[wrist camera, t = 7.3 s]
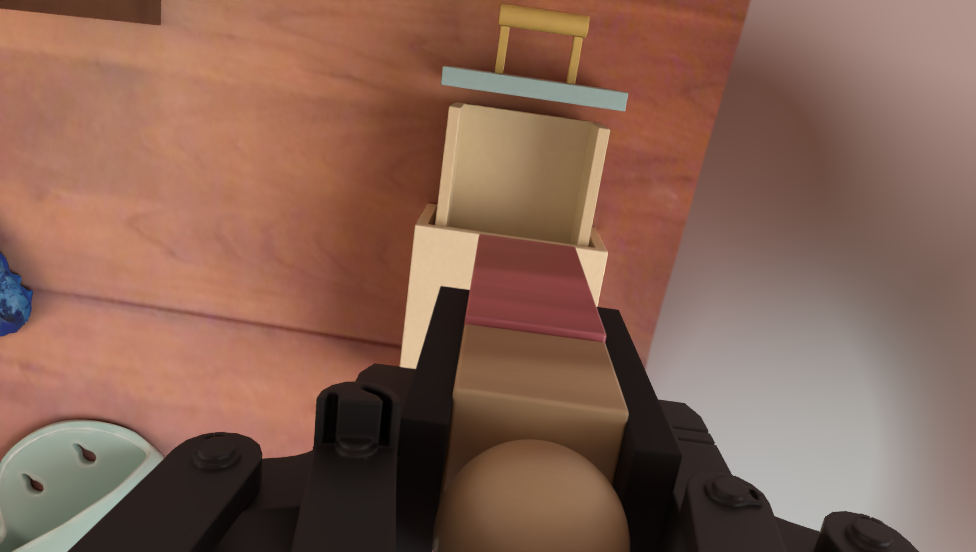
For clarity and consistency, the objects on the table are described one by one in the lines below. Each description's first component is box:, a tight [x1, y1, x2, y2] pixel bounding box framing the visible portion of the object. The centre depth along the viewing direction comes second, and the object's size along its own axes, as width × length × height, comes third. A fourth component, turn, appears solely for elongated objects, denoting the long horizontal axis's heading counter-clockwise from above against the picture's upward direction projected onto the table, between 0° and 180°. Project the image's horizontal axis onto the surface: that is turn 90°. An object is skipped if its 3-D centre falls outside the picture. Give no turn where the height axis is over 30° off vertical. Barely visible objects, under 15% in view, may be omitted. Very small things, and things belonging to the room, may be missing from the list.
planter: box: [0, 419, 164, 552], centre depth 60 cm, size 19×7×16 cm
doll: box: [433, 234, 630, 552], centre depth 15 cm, size 4×3×13 cm
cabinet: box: [400, 203, 608, 369], centre depth 53 cm, size 16×14×8 cm
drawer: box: [435, 3, 628, 247], centre depth 49 cm, size 19×12×6 cm, turn 172°
